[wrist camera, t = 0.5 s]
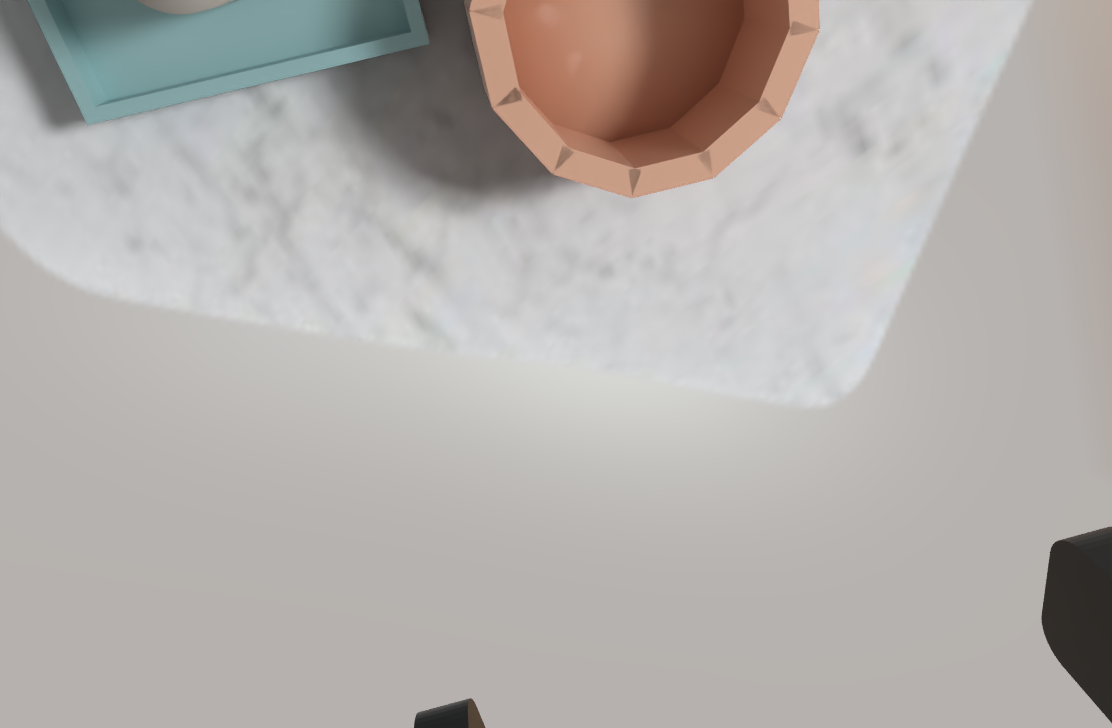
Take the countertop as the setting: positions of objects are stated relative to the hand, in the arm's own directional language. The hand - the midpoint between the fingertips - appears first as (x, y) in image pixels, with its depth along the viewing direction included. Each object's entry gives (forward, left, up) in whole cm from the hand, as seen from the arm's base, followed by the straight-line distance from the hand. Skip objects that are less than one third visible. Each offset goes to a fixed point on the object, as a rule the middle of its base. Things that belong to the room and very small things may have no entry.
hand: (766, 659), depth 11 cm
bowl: (-6, +4, -24) cm, 25 cm away
